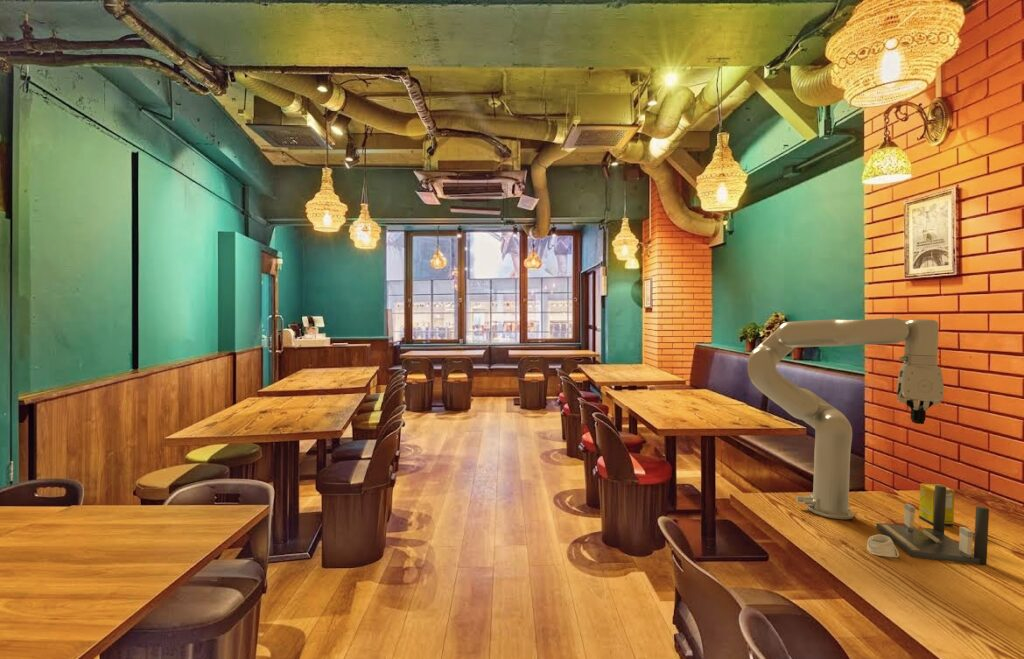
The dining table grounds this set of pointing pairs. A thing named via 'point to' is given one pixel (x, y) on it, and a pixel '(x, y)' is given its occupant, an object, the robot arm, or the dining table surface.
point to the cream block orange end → (924, 531)
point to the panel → (926, 544)
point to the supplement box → (928, 504)
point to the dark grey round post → (980, 523)
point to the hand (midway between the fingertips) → (917, 422)
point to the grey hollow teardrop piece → (882, 546)
